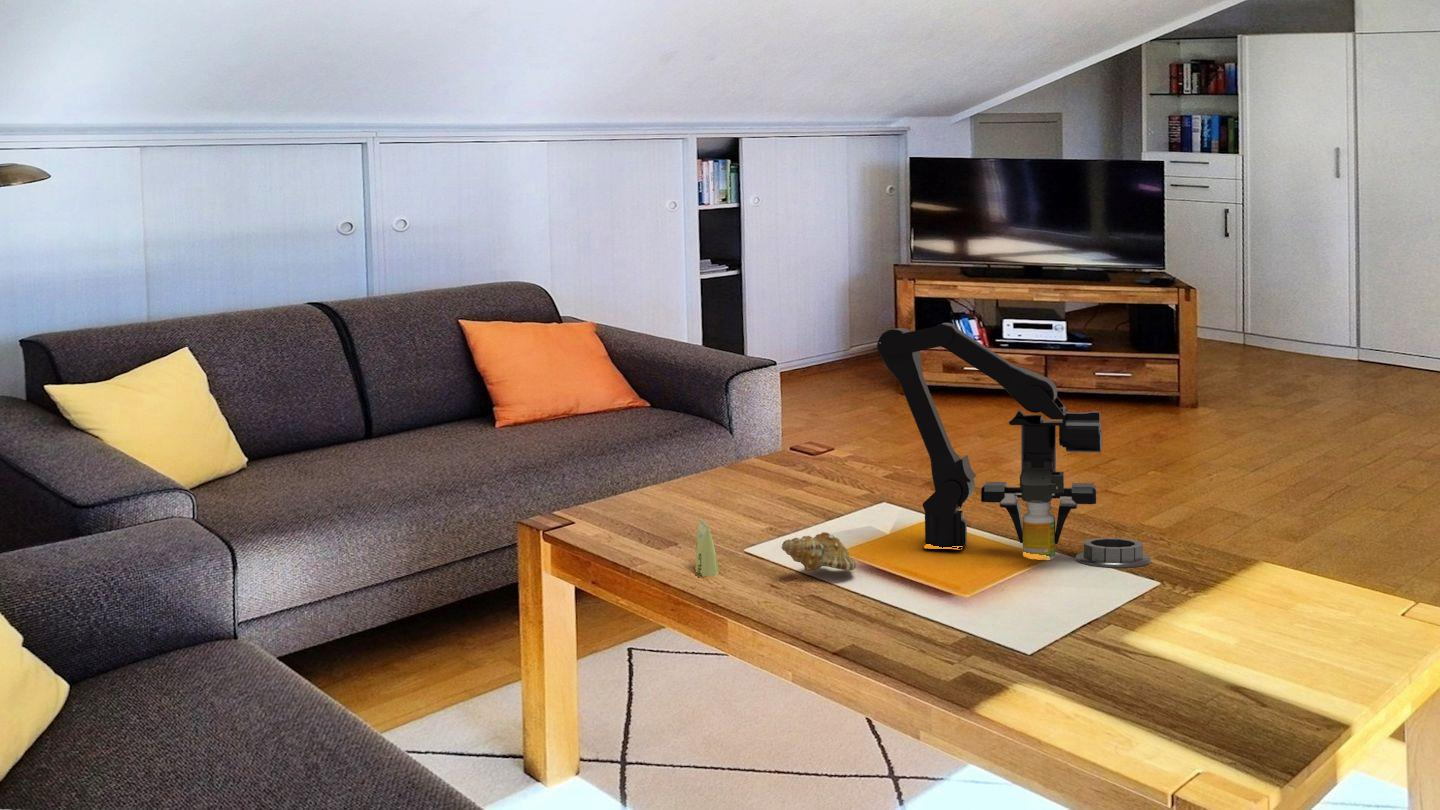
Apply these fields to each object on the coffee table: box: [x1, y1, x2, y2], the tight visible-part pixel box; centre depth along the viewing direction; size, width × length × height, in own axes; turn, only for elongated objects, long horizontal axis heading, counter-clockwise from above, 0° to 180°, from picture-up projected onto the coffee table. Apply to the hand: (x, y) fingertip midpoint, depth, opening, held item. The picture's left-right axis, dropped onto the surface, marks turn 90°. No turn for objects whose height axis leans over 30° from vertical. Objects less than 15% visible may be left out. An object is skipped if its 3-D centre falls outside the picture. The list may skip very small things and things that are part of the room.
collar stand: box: [1075, 537, 1152, 569], centre depth 224 cm, size 12×12×3 cm
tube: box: [694, 517, 720, 578], centre depth 224 cm, size 6×5×20 cm
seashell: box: [780, 531, 857, 572], centre depth 220 cm, size 9×8×10 cm
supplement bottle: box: [1022, 501, 1056, 561], centre depth 227 cm, size 5×5×10 cm
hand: (1038, 543), depth 228 cm, fingers closed on supplement bottle, 5 cm apart
